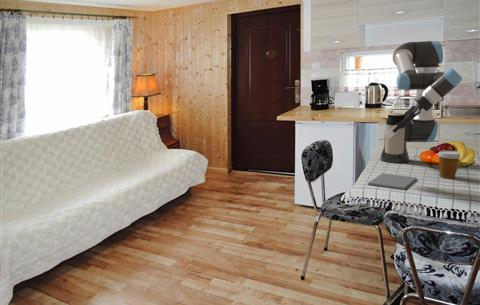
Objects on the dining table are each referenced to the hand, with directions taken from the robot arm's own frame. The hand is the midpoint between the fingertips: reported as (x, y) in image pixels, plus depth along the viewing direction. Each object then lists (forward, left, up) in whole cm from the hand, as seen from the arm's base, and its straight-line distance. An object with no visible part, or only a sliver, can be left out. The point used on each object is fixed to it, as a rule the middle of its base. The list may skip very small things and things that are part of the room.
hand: (387, 135), depth 190 cm
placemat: (-1, +3, -22) cm, 22 cm away
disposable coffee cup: (-23, +22, -22) cm, 39 cm away
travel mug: (-1, +3, -8) cm, 9 cm away
